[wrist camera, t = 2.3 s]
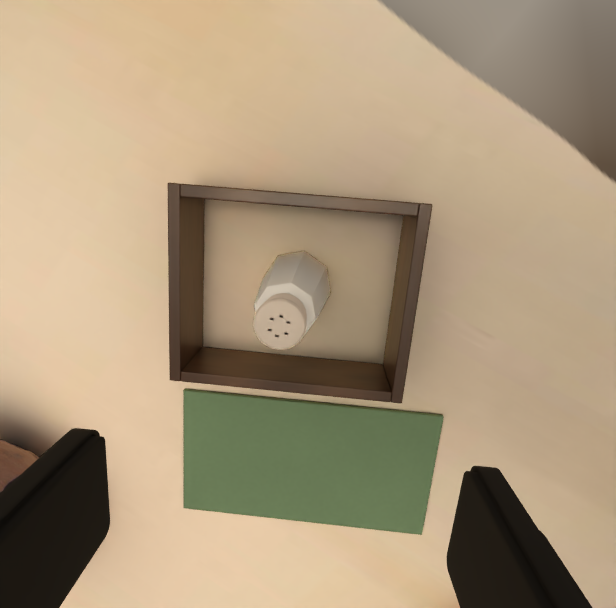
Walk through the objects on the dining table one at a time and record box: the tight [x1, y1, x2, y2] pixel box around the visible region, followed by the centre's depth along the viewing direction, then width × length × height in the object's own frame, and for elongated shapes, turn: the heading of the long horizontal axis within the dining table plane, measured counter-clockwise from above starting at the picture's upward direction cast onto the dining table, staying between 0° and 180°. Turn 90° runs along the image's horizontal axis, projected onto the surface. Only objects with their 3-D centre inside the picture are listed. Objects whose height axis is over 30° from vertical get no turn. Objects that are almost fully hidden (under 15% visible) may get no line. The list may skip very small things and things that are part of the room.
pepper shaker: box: [253, 251, 331, 350], centre depth 26 cm, size 5×5×11 cm
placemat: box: [184, 389, 443, 535], centre depth 35 cm, size 22×12×1 cm, turn 85°
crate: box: [168, 183, 432, 403], centre depth 28 cm, size 17×14×5 cm
